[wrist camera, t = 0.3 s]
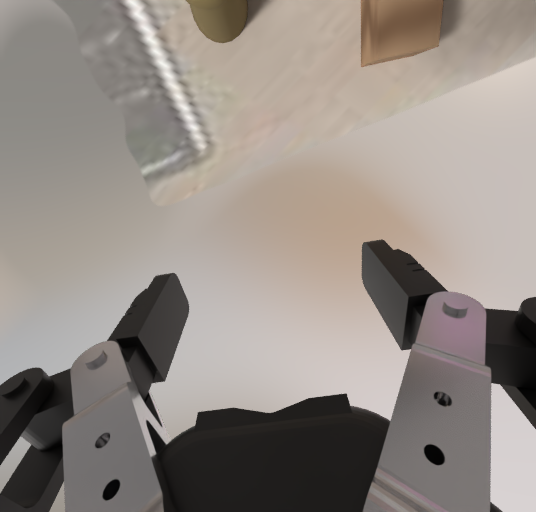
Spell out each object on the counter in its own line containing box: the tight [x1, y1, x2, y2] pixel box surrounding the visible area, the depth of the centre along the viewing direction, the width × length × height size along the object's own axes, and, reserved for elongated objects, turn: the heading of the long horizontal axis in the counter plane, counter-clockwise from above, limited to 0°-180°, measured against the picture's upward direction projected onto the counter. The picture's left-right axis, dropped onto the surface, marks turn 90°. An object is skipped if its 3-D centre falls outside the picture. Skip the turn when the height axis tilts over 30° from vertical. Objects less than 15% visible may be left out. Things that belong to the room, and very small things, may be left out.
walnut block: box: [361, 0, 444, 67], centre depth 27 cm, size 6×6×5 cm
